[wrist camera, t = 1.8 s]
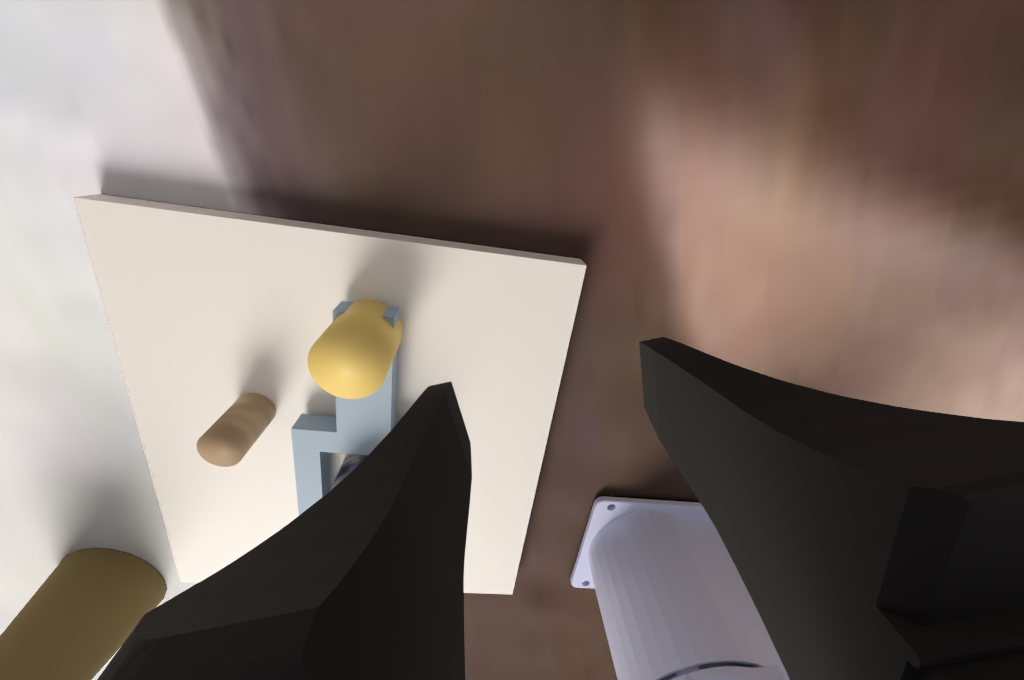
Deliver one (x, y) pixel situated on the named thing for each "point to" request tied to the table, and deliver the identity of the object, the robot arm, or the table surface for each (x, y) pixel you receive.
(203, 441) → the dowel
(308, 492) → the square ring with handle
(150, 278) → the base plate
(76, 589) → the cork
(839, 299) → the table surface
